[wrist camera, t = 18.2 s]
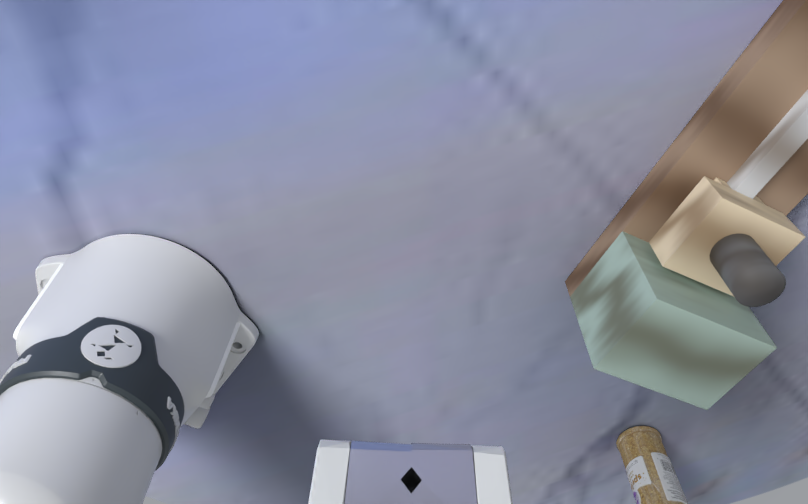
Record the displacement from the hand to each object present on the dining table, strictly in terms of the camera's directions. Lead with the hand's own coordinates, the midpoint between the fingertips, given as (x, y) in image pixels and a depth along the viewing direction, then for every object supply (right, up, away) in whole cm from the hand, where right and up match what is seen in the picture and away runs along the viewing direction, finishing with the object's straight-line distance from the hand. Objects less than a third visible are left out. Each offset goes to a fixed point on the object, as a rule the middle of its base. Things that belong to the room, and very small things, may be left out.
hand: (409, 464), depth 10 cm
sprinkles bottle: (+24, -16, +52) cm, 60 cm away
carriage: (+22, +6, +34) cm, 41 cm away
